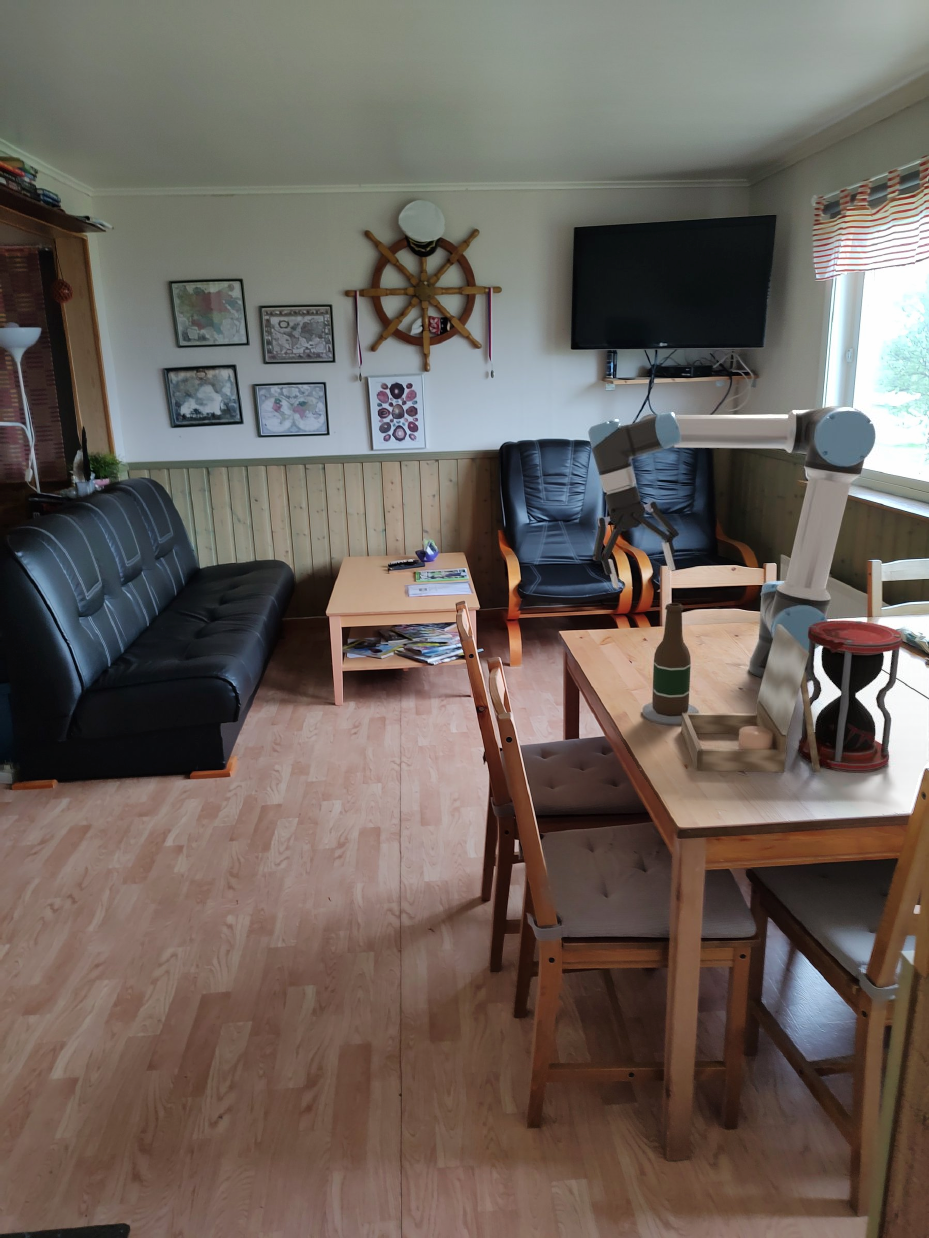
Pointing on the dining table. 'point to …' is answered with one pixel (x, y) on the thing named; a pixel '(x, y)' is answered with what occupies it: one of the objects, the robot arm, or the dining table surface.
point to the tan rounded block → (755, 738)
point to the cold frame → (759, 715)
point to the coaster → (662, 719)
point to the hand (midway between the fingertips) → (644, 578)
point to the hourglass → (850, 694)
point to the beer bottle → (671, 667)
